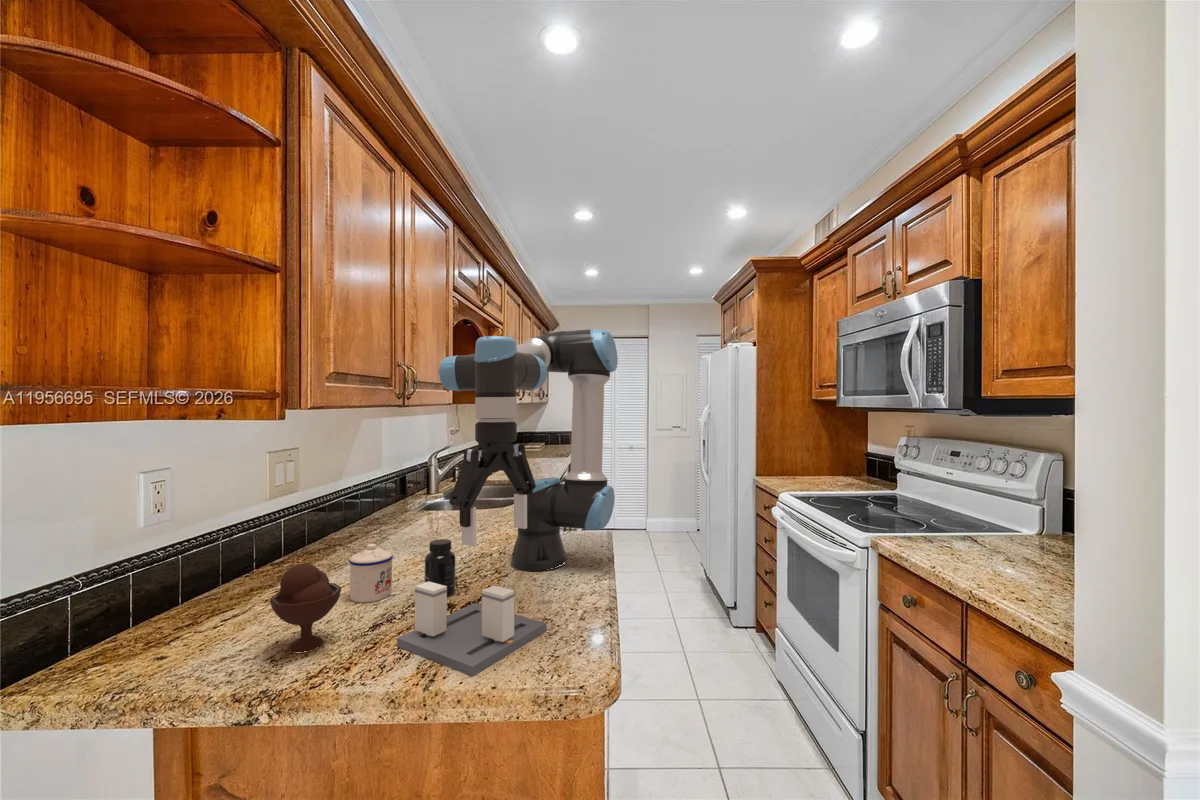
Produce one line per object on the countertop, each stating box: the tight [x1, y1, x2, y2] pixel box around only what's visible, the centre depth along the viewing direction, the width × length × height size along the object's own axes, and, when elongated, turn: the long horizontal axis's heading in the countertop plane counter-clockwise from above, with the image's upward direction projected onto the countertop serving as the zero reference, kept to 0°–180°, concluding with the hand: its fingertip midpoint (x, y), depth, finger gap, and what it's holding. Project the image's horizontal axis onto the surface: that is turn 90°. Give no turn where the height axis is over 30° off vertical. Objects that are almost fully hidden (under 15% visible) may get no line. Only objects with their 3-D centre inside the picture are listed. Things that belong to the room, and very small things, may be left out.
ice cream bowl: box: [269, 562, 342, 652], centre depth 89 cm, size 11×11×15 cm
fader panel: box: [396, 602, 547, 677], centre depth 92 cm, size 19×19×2 cm
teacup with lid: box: [348, 543, 394, 603], centre depth 115 cm, size 12×9×12 cm
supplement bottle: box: [423, 538, 456, 598], centre depth 115 cm, size 7×7×12 cm
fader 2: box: [481, 585, 516, 642], centre depth 89 cm, size 3×5×9 cm, turn 58°
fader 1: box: [414, 581, 448, 636], centre depth 91 cm, size 3×5×9 cm, turn 58°
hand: (496, 535), depth 91 cm, fingers open, 13 cm apart
